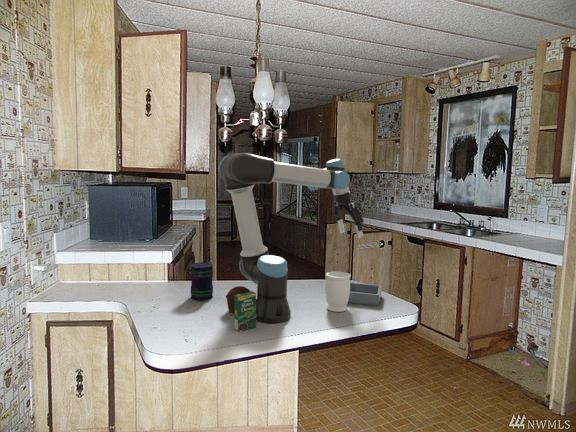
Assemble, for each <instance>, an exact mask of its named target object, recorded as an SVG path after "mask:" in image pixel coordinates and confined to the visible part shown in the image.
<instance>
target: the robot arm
mask: <svg viewBox="0 0 576 432" xmlns="http://www.w3.org/2000/svg"><path fill="white" fill-rule="evenodd" d="M325 165H326V166H325V167H324V168H320V167H319V168H318V167H312V166H304V165H299V164H298V165H297V164H292V163H285V162H278V161H274V159H273V158H269V157H265V156H259V155H256V154H252V153H248V152H244V153H240V152H239V153H231V154H228V155H225V156H224V157H223V158H222V159H221V161H220V162H219V165H218V175H219V176H220V178H221V179H222V180H223V182H224V185H225V190H226V191H227V192H228V193H229V194H230V195H231V199H232V204H233V208H234V209H233V210H234V214H235V219H236V224H237V229H238V233H239V239H240V243H241V247H242V250H241V252H240V253H239V255H240V259H239V264H238V266H239V271H240V274H242V276H244V277H243V278H245V279H246V280H248V281H250V282H252V283H254V284H256V288H257V289H256V322H260V323H265V324H279V323H284V322H287V321H289V320H290V319H291V317H292V316H291V314H292V312H291V308H290V304H289V301H288V297H287V295H288V290H287V289H288V272H289V271H288V270H289V269H288V262H287V260H286V259H285V258H284V257H281V256H277V255H273V254H269V249H268V247H267V246H265V245H264V243H263V239H262V233H261V228H260V222H259V218H258V214H257V213H258V212H257V208H256V207H257V206H256V203H255V199H254V193H253V188H255V187H254V186H255V185H256V184H267V185H268V184H271V183H273V182H274V183H278V184H279V183H282V184H287V185H288V184H289V185H296V186H306V187H307V188H308V189H309V190H310V191H312V192H313V191H315V190H316V191H318V190H319V189H329V190H330V189H331V190H332V191H331V192H332V194H333V198H334V201H333V215H332V218H333V220H335V221H336V222H337V226H338V230H339V234H340V235H341V234H343V233H345V232H346V229H345V226H344V225H345V224H344V221H343V220H344V219H343V218H342V217H343V213H346V214H347V215H348V216H350V218H351V220H352V221H353V222H354V223H355V224H354V227H355V232H356V236H357V238H358V239H361V238H362V237H364V232H363V227H362V223H364V222H365V220H364V218H363V217H362V215H361V213H360V211H359V209H358V208H357V204H356V203H355V202H351V199H352V197H351V196H352V195H351V191H350V188H349V185H350V182H351V181H350V178H351V177H350V175H349V174H348V173H347V171H346V170H345V165H344V162H343V160H342V158H334V159H330V160H328V161H326V162H325Z"/></svg>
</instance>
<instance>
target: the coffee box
mask: <svg viewBox="0 0 576 432" xmlns="http://www.w3.org/2000/svg"><path fill="white" fill-rule="evenodd" d="M250 291H251V290H250ZM256 299H257V292H255V291H253V290H252V291H251V292H247V293H243V294H238V295H234V315H233V317H234V319H233V320H234V326H233V328H234V330H235V331H236V332H242V331H243V332H244V331H245V330H246V331H247V330H250V329H254V328H257V320H256Z"/></svg>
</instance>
